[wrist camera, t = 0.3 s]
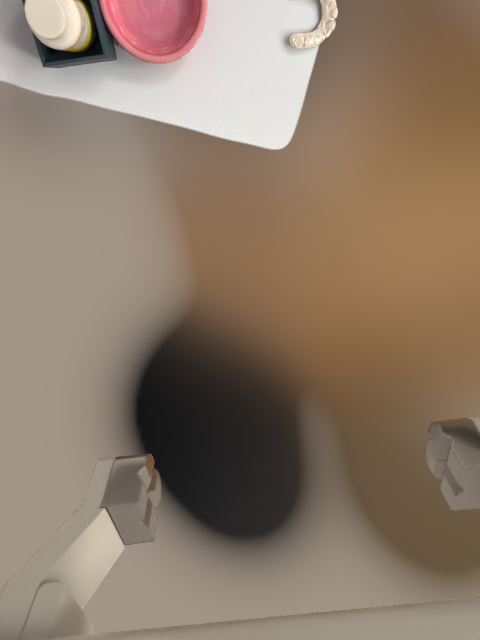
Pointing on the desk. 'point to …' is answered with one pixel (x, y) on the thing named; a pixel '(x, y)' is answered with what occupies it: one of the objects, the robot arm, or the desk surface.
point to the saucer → (155, 26)
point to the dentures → (321, 32)
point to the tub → (97, 53)
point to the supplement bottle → (62, 24)
